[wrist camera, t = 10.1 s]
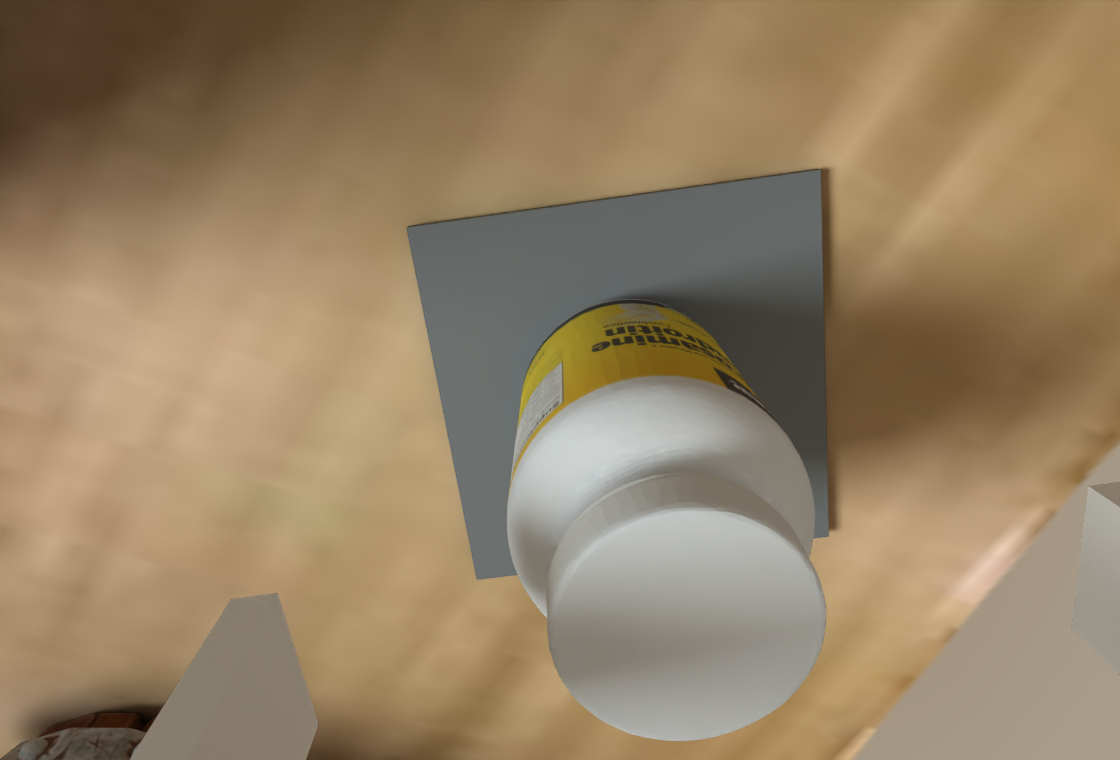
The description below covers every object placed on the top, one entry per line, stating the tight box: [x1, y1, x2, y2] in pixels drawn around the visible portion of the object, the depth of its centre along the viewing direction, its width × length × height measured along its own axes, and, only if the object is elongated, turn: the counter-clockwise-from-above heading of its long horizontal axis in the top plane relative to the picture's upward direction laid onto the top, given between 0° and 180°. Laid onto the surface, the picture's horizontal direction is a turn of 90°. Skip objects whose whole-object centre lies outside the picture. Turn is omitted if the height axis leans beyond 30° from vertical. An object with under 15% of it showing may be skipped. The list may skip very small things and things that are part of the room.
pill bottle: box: [507, 299, 826, 741], centre depth 18 cm, size 6×6×12 cm
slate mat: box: [407, 169, 829, 580], centre depth 24 cm, size 12×12×1 cm
